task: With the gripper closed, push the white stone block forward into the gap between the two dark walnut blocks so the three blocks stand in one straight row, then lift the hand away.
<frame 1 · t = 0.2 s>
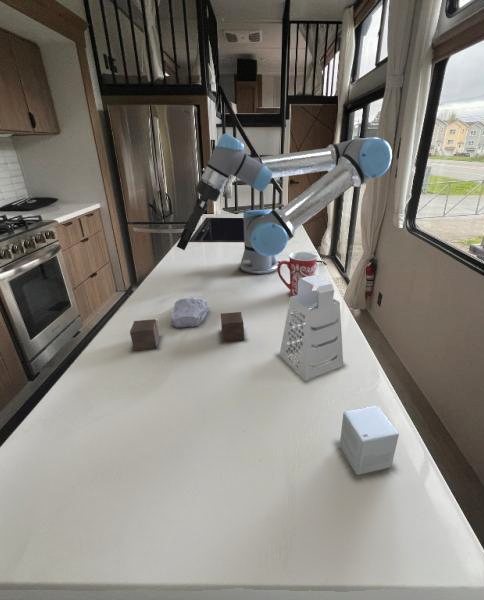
hand: (182, 243, 109), 16 cm above the table, tool tilted 30°, fingers open, 13 cm apart
stone block: (192, 318, 95), on the table
grater: (310, 361, 75), on the table
walnut block 2: (232, 335, 86), on the table
walnut block 1: (147, 343, 83), on the table
product box: (364, 456, 52), on the table
mug: (296, 295, 108), on the table
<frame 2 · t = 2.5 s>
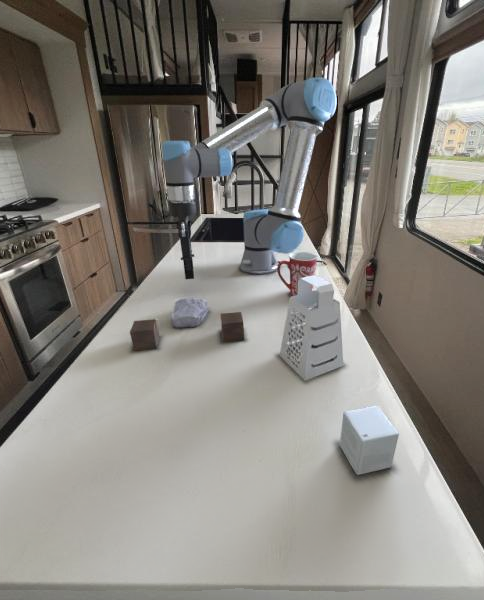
hand: (189, 278, 102), 8 cm above the table, tool pointing down, fingers closed
nothing on the table moved.
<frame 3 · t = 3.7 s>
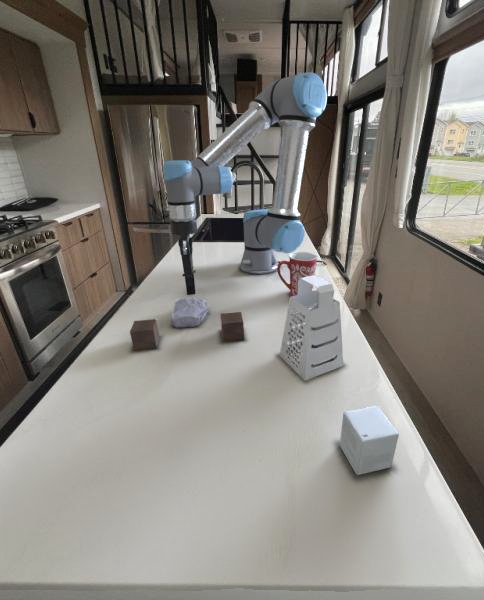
hand: (191, 293, 103), 3 cm above the table, tool pointing down, fingers closed
nothing on the table moved.
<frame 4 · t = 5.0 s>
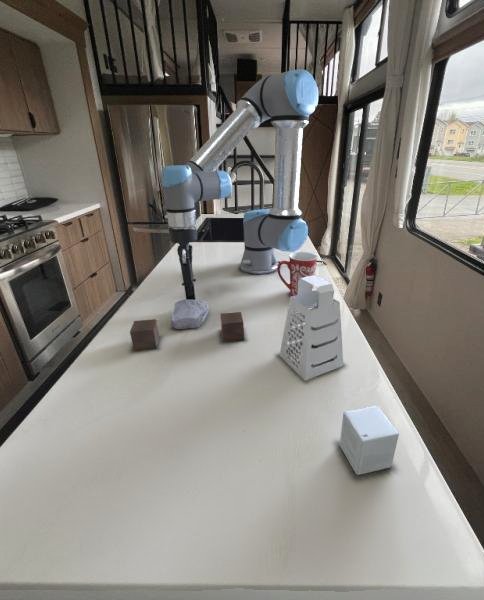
hand: (191, 303, 99), 2 cm above the table, tool pointing down, fingers closed
stone block: (192, 319, 94), on the table, touching gripper
everything else where it was.
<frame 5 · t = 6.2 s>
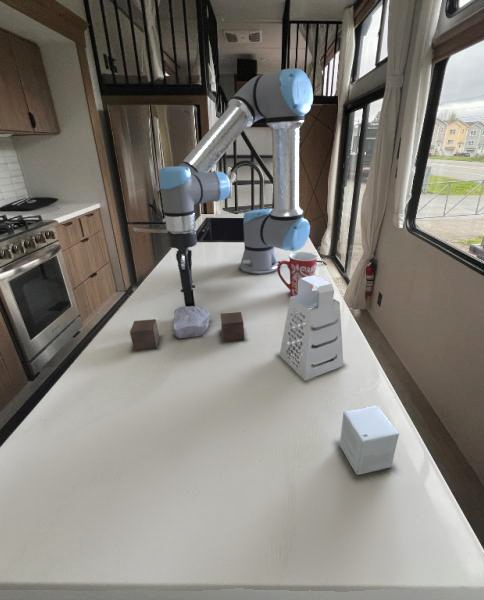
hand: (190, 310, 95), 2 cm above the table, tool pointing down, fingers closed
stone block: (193, 327, 90), on the table, touching gripper
everything else where it was.
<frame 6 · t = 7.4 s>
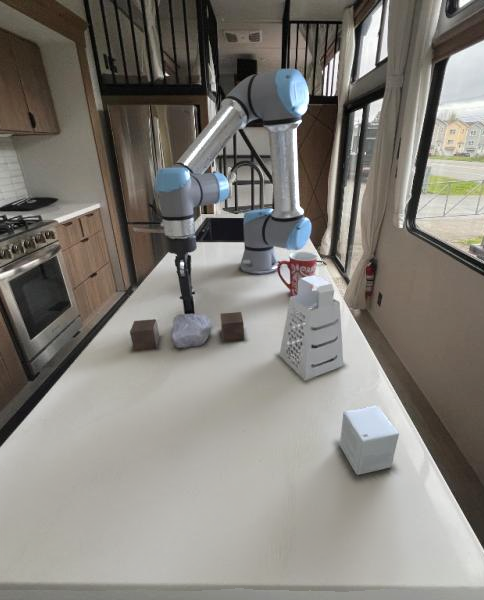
hand: (190, 317, 91), 2 cm above the table, tool pointing down, fingers closed
stone block: (193, 336, 86), on the table, touching gripper
everything else where it was.
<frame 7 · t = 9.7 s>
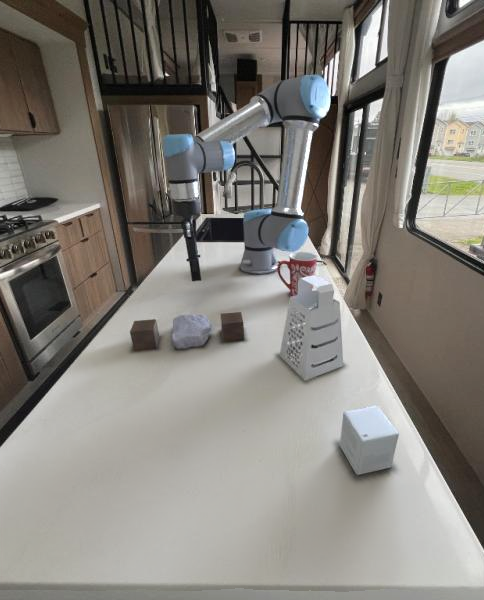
hand: (196, 279, 97), 9 cm above the table, tool pointing down, fingers closed
stone block: (193, 336, 86), on the table
everything else where it was.
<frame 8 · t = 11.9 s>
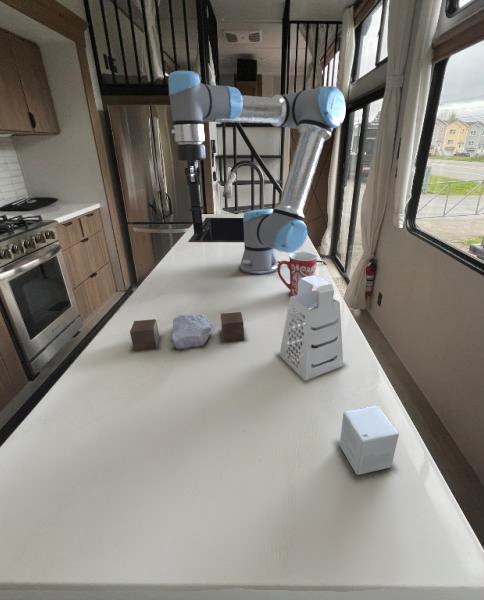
hand: (198, 233, 95), 22 cm above the table, tool pointing down, fingers closed
nothing on the table moved.
at the end: stone block 1.7 cm from the target spot, on the table; walnut block 2 moved 0.0 cm from its start; walnut block 1 moved 0.0 cm from its start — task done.
